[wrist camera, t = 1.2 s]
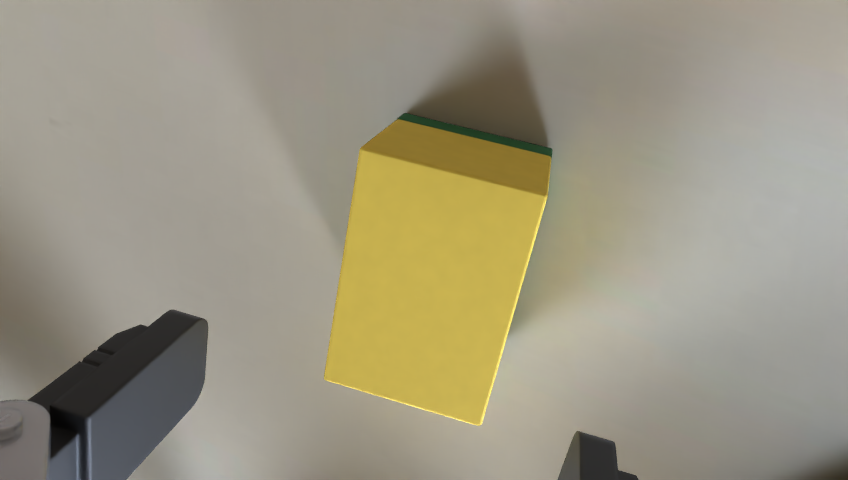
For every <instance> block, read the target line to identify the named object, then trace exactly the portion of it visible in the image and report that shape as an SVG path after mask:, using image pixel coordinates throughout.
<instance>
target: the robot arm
mask: <svg viewBox="0 0 848 480" xmlns="http://www.w3.org/2000/svg"><path fill="white" fill-rule="evenodd" d="M207 339H208V323H207V321H206V320H205V319H203V318H200V317H196V316H193V315H190V314H186V313H183V312H180V311H176V310H169V311H168V312H166V313H165V314H164V315H162V316H161V317H160V318H159V319H157V320H156V321H155V322H153V323H152V324H151V325H150V326H148V327H147V326H144V325H138V326H136V327H133V328H130V329H128V330H125V331H122V332H120V333H117V334H115V335H114V336H113V337H111V338H110V339H109V340H107V341H106V342H105V343H103V344H102V345H101V346H99V347H98V350H97V351H96V350H94V351H93V352H91V353H90V354H89V355H87V356H86V357H85V358H83V361H82V362H80V361H79V362H78V363H77V364H76V365H74V366H73V367H72V368H70V369H69V370H68V371H66V372H65V373H64V374H62V375H61V376H60V377H58V378H57V379H56V380H54V381H53V382H52V383H50V384H49V385H48V386H46V387H45V388H44V389H42V390H41V391H40V392H38V393H37V394H36V395H34V396H33V397H32V398H30V399H29V400H28V401H25V400H6V401H0V480H126V479H127V478H128V477H129V476H130V475H131V474H132V473H133V472H134V470H135V469H136V468H137V467H138V466H139V465H140V464H141V463H142V462H143V461H144V459H145V458H146V457H147V456H148V455H149V454H150V453H151V452H152V451H153V450H154V448H155V447H156V446H157V445H158V444H159V443H160V442H161V441H162V440H163V439H164V438H165V436H166V435H167V434H168V433H169V432H170V431H171V430H172V429H173V428H174V427H175V425H176V424H177V423H178V422H179V421H180V420H181V419H182V418H183V417H184V416H185V414H186V413H187V412H188V411H189V410H190V409H191V408H192V407H193V405H194V404H195V403H196V401H197V399H198V397H199V395H200V393H201V391H202V388H203V384H204V380H205V368H206V354H207ZM558 480H638V478H637V476H636V475H633V474H629V473H626V472H623V471H619V470H618V466H617V456H616V446H615V443H614V442H613V441H610V440H607V439H603V438H600V437H597V436H593V435H590V434H586V433H583V432H580V431H577V432H576V433H575V434H574V437H573V439H572V442H571V444H570V447H569V450H568V453H567V455H566V458H565V461H564V464H563V466H562V469H561V472H560V474H559V477H558Z"/></svg>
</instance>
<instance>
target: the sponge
mask: <svg viewBox="0 0 848 480" xmlns="http://www.w3.org/2000/svg"><path fill="white" fill-rule="evenodd" d="M551 158H552V149H551V148H547V147H543V146H539V145H535V144H531V143H527V142H523V141H518V140H514V139H510V138H506V137H502V136H498V135H494V134H490V133H485V132H481V131H477V130H473V129H469V128H465V127H461V126H457V125H452V124H448V123H444V122H440V121H436V120H432V119H428V118H424V117H419V116H415V115H411V114H407V113H404V114H403V115H401V116H400V117H399V118H398V119H397V120H396V121H394V122H393V123H392V124H391V125H389V126H388V127H387V128H385V129H384V130H383V131H382V132H380V133H379V134H378V135H376V136H375V137H374V138H372V139H371V140H370V141H369V142H367V143H366V144H365V145H363V146H362V147H361V148H360V151H359V157H358V163H357V170H356V176H355V183H354V189H353V195H352V202H351V208H350V214H349V221H348V227H347V233H346V240H345V246H344V253H343V259H342V265H341V272H340V278H339V284H338V291H337V297H336V303H335V310H334V316H333V323H332V329H331V335H330V342H329V348H328V354H327V361H326V367H325V374H324V379H325V380H326V381H330V382H333V383H336V384H340V385H343V386H346V387H350V388H353V389H356V390H360V391H363V392H366V393H370V394H373V395H377V396H380V397H383V398H387V399H390V400H393V401H397V402H400V403H403V404H407V405H410V406H413V407H417V408H420V409H424V410H427V411H430V412H434V413H437V414H440V415H444V416H447V417H450V418H454V419H457V420H460V421H464V422H467V423H471V424H474V425H477V426H480V425H481V424H482V422H483V418H484V415H485V412H486V408H487V405H488V401H489V398H490V394H491V391H492V387H493V384H494V380H495V377H496V373H497V370H498V367H499V363H500V360H501V356H502V353H503V349H504V346H505V342H506V339H507V335H508V332H509V328H510V325H511V322H512V318H513V315H514V311H515V308H516V304H517V301H518V297H519V294H520V290H521V287H522V283H523V280H524V277H525V273H526V270H527V266H528V263H529V259H530V256H531V252H532V249H533V245H534V242H535V238H536V235H537V232H538V228H539V225H540V221H541V218H542V214H543V211H544V207H545V204H546V200H547V197H548V187H549V178H550V168H551Z"/></svg>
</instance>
